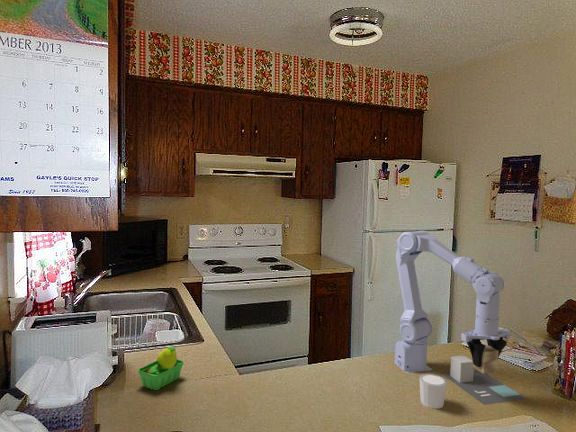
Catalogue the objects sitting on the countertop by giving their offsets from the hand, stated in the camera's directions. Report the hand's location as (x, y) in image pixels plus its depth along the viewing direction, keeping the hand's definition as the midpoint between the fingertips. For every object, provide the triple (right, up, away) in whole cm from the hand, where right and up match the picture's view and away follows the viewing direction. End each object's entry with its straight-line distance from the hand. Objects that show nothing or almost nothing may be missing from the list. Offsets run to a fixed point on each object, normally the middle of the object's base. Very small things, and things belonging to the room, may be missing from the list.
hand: (484, 364), depth 109 cm
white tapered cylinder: (-16, -9, -5) cm, 19 cm away
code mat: (+2, -9, +5) cm, 10 cm away
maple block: (0, -1, 0) cm, 1 cm away
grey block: (-2, -8, +9) cm, 12 cm away
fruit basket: (-91, -7, +5) cm, 92 cm away
